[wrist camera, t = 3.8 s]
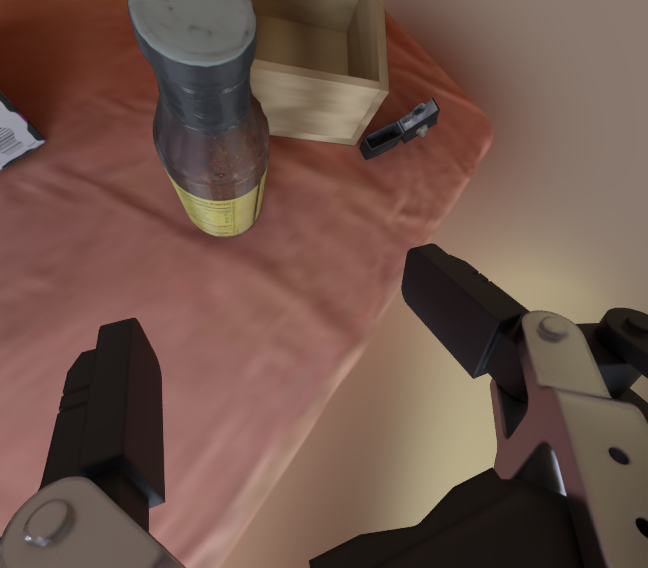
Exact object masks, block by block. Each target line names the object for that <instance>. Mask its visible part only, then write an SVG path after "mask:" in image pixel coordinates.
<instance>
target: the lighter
mask: <svg viewBox="0 0 648 568" xmlns="http://www.w3.org/2000/svg"><path fill="white" fill-rule="evenodd" d="M439 111H440V109H439V107H438V106H437V104H436V102H435V100H434V98H432V99H430V100H429V101H427V102H426V103H424V104H422V103H421V104H420V105H418V106H417V107H415V108H414V109H413V111H412V112H410V113H409V114H407V115H406V116H404V117H403V118H401V119H400V120H398V121H396V122H394V123H392V124H390V125H387V126H385V127H383V128H381V129H379V130H377V131H375V132H373V133H371V134H370V135H368V136H366V137H365V138H364V140H363V142H362V144H361V146H360V150H361V152H362V154H363V156H364V158H365V159H366V160H368V159H370V158H373V157H375V156H377V155H379V154H381V153H383V152H385V151H387V150H389V149H390V148H392V147H394V146H395V145H396V144H397V143H398V141H399V140H400V138H402V140H403V142H404V143H406V142H408V141H409V140H411V139H413V138H414V137H416V136H417V135H420V136H422V137H423V136H425V135H426V132H427V130H428V128H430V127H432V126H433V125H435V124H436V123H437V116H438V113H439Z"/></svg>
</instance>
